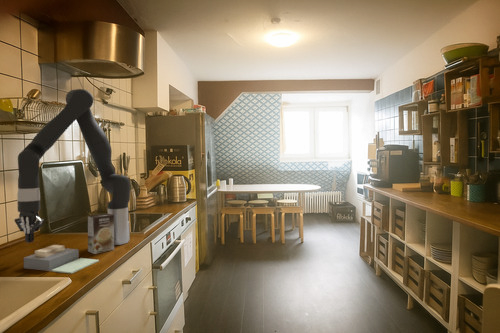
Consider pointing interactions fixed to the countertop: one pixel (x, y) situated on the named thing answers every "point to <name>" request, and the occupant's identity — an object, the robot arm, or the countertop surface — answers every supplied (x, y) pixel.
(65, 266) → the mat
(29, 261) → the grey flat block
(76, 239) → the countertop surface
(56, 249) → the tile
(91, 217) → the coffee box
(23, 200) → the robot arm
